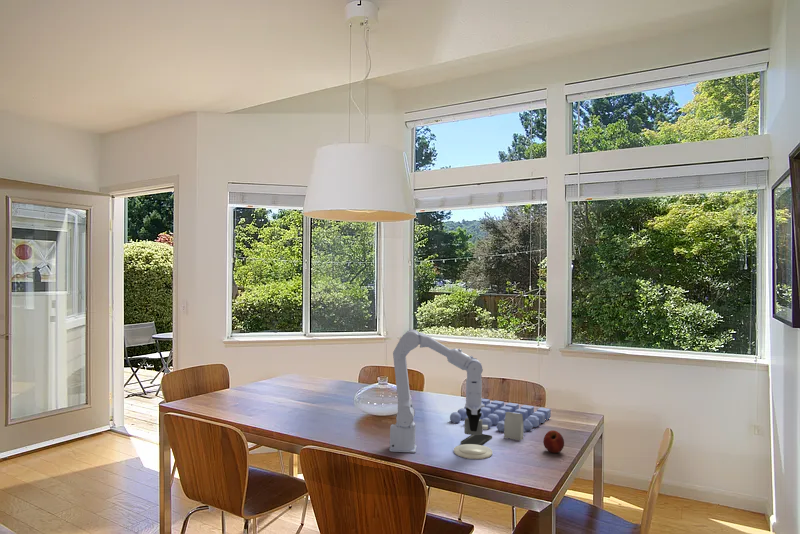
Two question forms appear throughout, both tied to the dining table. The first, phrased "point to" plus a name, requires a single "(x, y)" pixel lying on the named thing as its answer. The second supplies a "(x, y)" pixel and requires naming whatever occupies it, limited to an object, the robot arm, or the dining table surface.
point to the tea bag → (513, 426)
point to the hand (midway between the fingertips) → (473, 429)
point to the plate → (473, 451)
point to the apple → (553, 441)
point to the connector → (479, 428)
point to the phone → (477, 439)
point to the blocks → (497, 412)
